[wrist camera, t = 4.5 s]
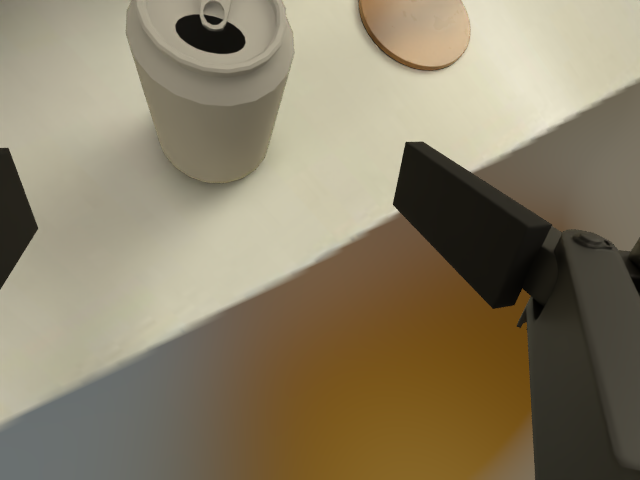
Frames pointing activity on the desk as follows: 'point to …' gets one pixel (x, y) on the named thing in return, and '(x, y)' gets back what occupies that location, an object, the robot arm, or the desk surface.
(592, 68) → the desk surface
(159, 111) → the can
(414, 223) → the robot arm
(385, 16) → the coaster
